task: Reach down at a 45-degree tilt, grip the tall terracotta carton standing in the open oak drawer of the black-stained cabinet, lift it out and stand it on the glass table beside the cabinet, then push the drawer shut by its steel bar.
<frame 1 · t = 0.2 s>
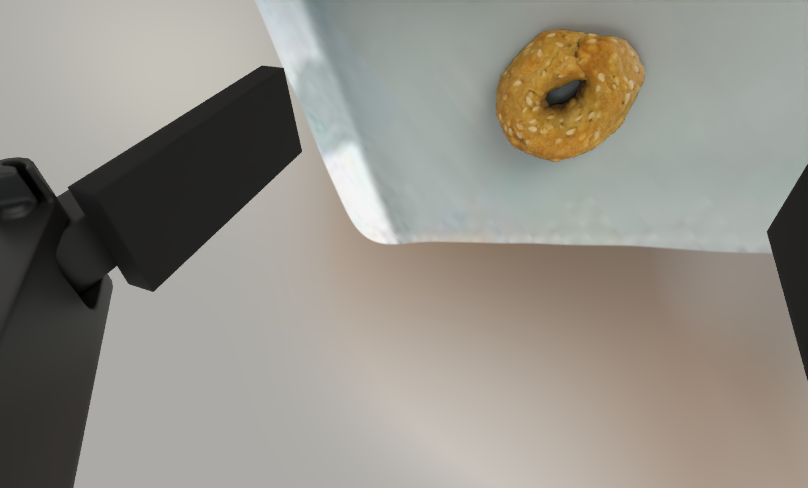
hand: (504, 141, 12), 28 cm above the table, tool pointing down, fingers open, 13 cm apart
bagel: (569, 85, 38), on the table
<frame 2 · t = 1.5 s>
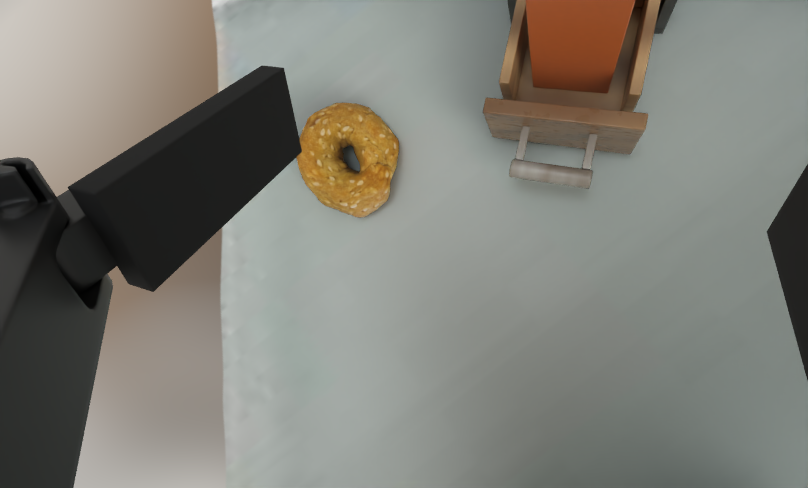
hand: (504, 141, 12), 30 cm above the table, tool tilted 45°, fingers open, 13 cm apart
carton: (575, 61, 39), point 2 cm above the table, touching drawer
bagel: (358, 165, 46), on the table
drawer: (569, 82, 37), point 4 cm above the table, slide at 9.5 cm, touching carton
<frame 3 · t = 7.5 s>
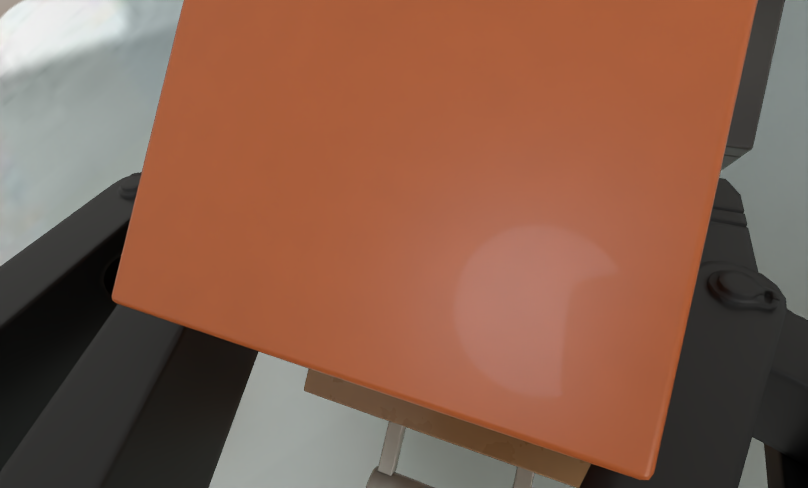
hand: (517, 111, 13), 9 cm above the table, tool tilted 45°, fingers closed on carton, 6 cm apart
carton: (510, 251, 20), point 2 cm above the table, touching drawer, gripper
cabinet: (562, 41, 22), on the table
drawer: (491, 314, 18), point 4 cm above the table, slide at 9.5 cm, touching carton
when the fingers open (7 cm above the table, at t = 16.0 s): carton stays where it is, on the table.
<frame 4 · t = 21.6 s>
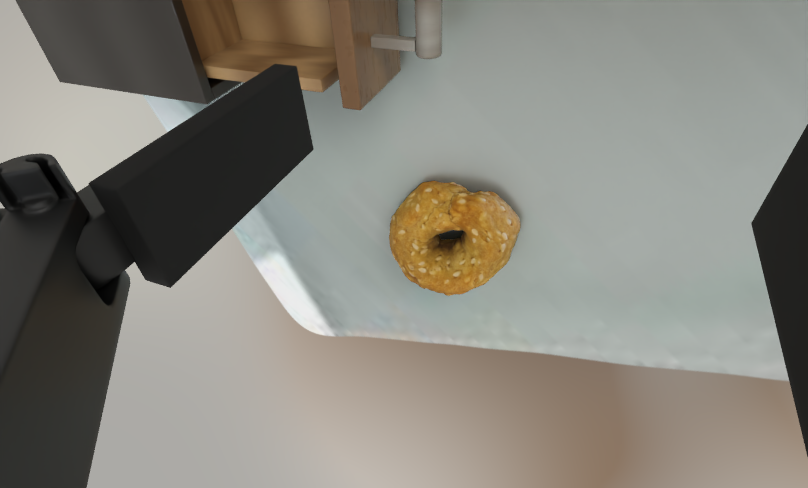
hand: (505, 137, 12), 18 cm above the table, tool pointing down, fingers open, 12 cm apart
bagel: (459, 221, 39), on the table
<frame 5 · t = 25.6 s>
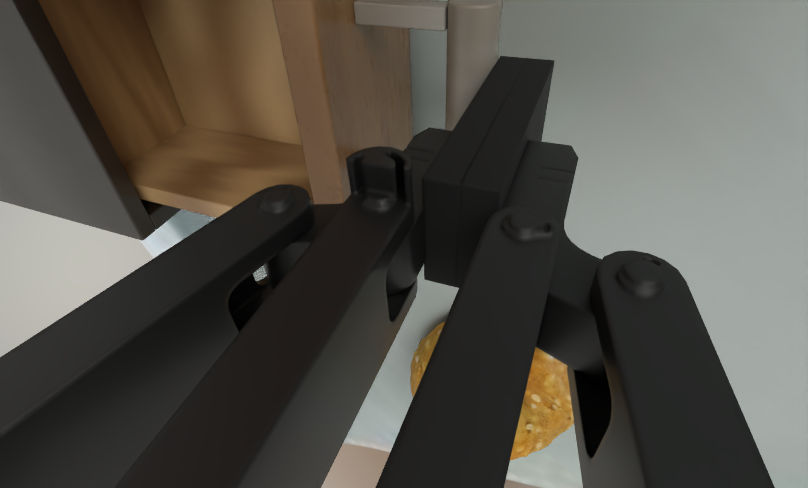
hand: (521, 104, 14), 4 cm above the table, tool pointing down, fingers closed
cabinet: (110, 16, 23), on the table
bagel: (505, 356, 29), on the table
drawer: (270, 72, 17), point 4 cm above the table, slide at 8.4 cm, touching gripper
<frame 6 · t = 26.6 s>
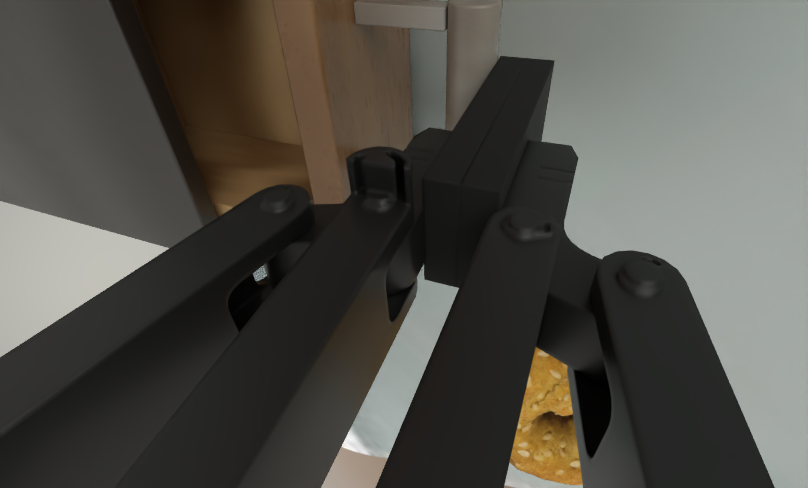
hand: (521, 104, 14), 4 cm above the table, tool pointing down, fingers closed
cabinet: (172, 22, 22), on the table
bagel: (571, 376, 28), on the table
drawer: (270, 72, 17), point 4 cm above the table, slide at 4.5 cm, touching gripper
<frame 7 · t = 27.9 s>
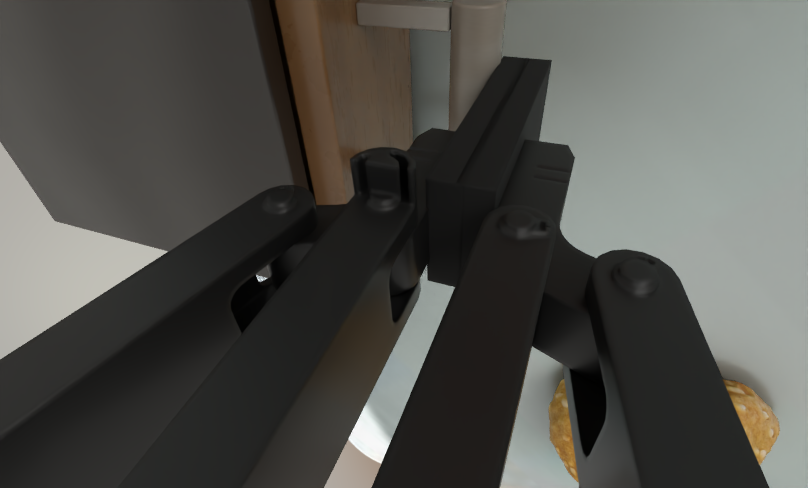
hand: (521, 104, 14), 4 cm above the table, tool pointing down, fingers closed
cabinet: (248, 30, 21), on the table
bagel: (652, 397, 27), on the table
drawer: (270, 73, 17), point 4 cm above the table, slide at 0.0 cm, touching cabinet, gripper
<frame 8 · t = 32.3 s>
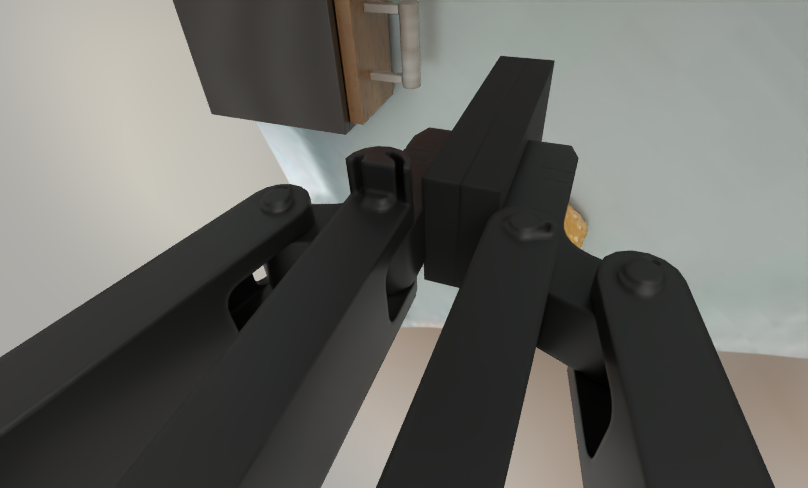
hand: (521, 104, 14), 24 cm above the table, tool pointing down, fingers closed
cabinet: (309, 17, 41), on the table
bagel: (531, 226, 47), on the table
drawer: (325, 35, 37), point 4 cm above the table, slide at 0.0 cm, touching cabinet
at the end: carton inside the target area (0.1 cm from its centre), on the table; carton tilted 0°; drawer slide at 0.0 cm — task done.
